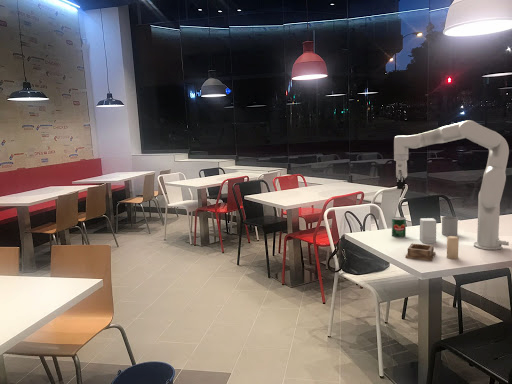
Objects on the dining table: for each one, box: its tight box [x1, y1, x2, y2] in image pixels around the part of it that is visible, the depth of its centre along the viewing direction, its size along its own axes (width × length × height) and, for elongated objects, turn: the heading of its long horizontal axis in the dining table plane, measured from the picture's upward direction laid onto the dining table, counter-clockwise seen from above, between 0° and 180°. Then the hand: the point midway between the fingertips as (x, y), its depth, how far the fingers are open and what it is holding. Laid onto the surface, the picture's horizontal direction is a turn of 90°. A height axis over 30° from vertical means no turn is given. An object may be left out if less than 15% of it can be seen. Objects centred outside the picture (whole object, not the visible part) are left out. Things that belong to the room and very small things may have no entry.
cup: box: [441, 216, 459, 237], centre depth 233 cm, size 8×8×10 cm
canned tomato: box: [391, 216, 407, 239], centre depth 234 cm, size 8×8×11 cm
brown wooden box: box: [405, 243, 436, 262], centre depth 196 cm, size 12×12×4 cm
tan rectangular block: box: [446, 236, 460, 260], centre depth 191 cm, size 5×5×10 cm
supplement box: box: [419, 217, 437, 244], centre depth 220 cm, size 7×7×13 cm
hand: (401, 187), depth 223 cm, fingers open, 9 cm apart
